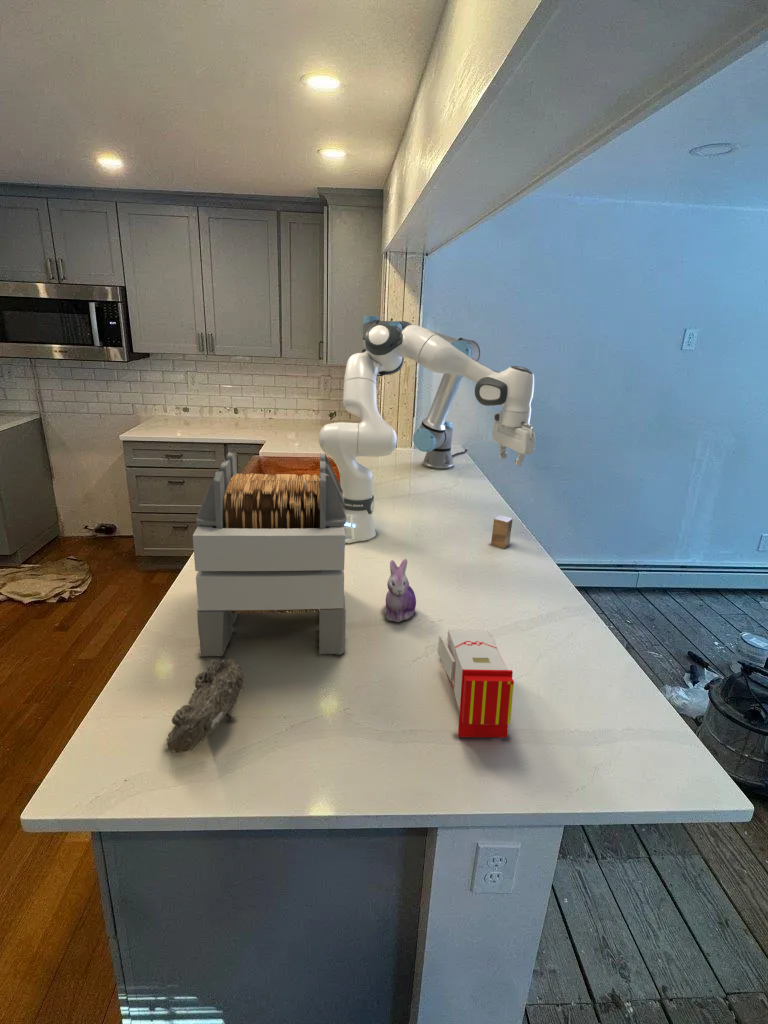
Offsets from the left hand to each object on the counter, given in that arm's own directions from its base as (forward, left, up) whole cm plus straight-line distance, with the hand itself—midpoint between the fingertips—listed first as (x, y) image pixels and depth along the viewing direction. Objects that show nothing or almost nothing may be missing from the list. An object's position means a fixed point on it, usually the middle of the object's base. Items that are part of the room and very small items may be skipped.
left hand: (510, 461), depth 184 cm
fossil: (-45, -107, -30) cm, 120 cm away
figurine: (-21, -57, -30) cm, 68 cm away
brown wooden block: (0, 0, -30) cm, 30 cm away
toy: (+1, -83, -30) cm, 88 cm away
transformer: (-49, -70, -30) cm, 91 cm away
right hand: (-77, +90, +5) cm, 119 cm away
